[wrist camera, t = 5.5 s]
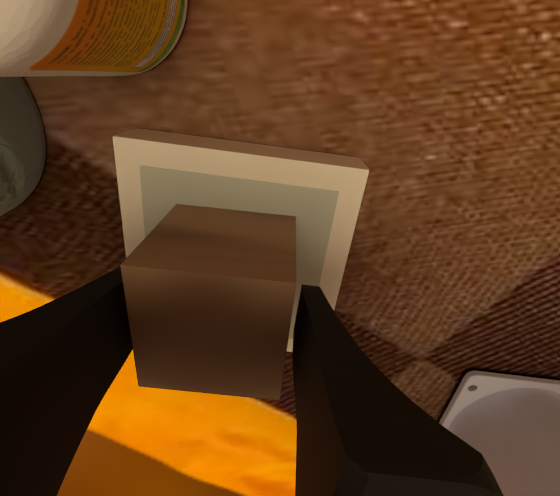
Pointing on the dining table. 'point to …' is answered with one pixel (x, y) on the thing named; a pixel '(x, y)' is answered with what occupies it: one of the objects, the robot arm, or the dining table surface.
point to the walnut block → (212, 301)
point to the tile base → (245, 193)
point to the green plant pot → (19, 143)
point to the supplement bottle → (87, 36)
